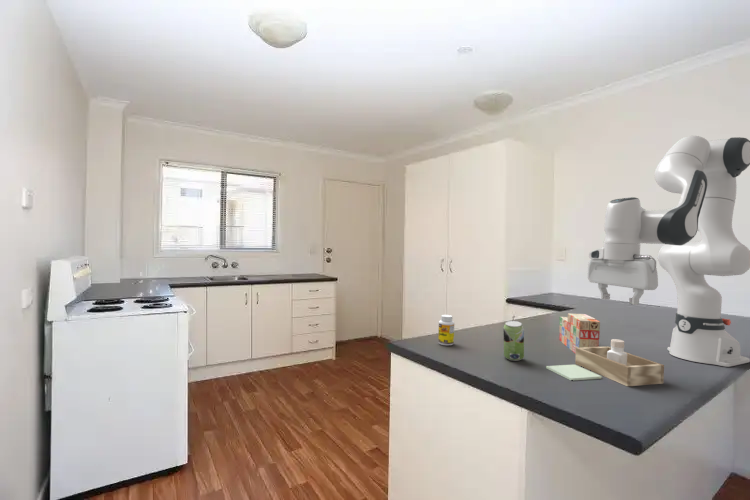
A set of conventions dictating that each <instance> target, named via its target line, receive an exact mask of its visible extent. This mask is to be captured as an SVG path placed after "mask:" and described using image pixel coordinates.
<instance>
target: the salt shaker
mask: <svg viewBox="0 0 750 500" xmlns="http://www.w3.org/2000/svg"><path fill="white" fill-rule="evenodd" d="M610 347H611V350H609V351H607V359H610V360H613V361H616V362H618V363H621V364H624V365H626V366H627V353H628V352H626V351H624V349H625V341H624V340H622V339H616V338H612V339H611V340H610ZM625 352H626V353H625Z"/></svg>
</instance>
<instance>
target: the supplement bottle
mask: <svg viewBox="0 0 750 500" xmlns="http://www.w3.org/2000/svg"><path fill="white" fill-rule="evenodd" d="M437 337H438V339H437V342H438V344H439V345H441V346H453V345H454V342H455V321H453V315H451V314H450V315H449V314H442V315H441V316H440V320H439V321H438V335H437Z"/></svg>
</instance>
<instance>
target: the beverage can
mask: <svg viewBox="0 0 750 500" xmlns="http://www.w3.org/2000/svg"><path fill="white" fill-rule="evenodd" d="M503 356H504V357H505V358H506V359H507V360H509V361H512V362H518V361H521V360H522V359H524V358H525V328H524V325H523V323H522V322H520V321H517V320H507V321H506V322H505V324H504V326H503Z"/></svg>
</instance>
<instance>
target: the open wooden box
mask: <svg viewBox="0 0 750 500" xmlns="http://www.w3.org/2000/svg"><path fill="white" fill-rule="evenodd" d="M609 350H611V346H599V347H584V348H576V354H575V361H574V362H575V364H574V365H577V366H579V367H581V366H582V368H583V367H584V369H586V370H589V371H590V370H591V372H593V373H595V374H598V375H600V376H602V377H604V378H606V379H609V380H611V381H614V382H616V383H619V384H621V385H623V386H625V387H635V386H647V385H663V384H664V379H665V365H664V364H662V363H659V362H656V361H653V360H650V359H647V358H644V357H642V356H638V355H636V354H632V353H629V352H626V351H624V352H625V353H627V366H626V365H624V364H621V363H618V362H616V361H613V360H610V359H607V351H609Z"/></svg>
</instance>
